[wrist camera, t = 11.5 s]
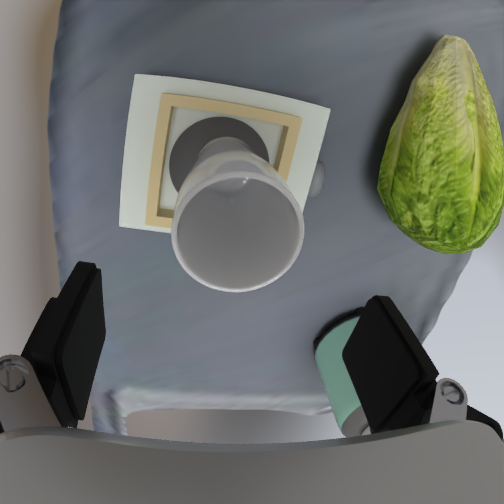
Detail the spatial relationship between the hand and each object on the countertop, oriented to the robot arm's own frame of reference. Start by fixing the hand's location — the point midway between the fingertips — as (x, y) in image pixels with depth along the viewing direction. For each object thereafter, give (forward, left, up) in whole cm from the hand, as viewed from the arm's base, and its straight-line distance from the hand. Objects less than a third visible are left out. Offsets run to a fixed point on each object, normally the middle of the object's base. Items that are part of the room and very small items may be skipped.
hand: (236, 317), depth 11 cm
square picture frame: (0, 0, -25) cm, 25 cm away
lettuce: (-9, +23, -25) cm, 35 cm away
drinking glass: (0, +1, -21) cm, 21 cm away
